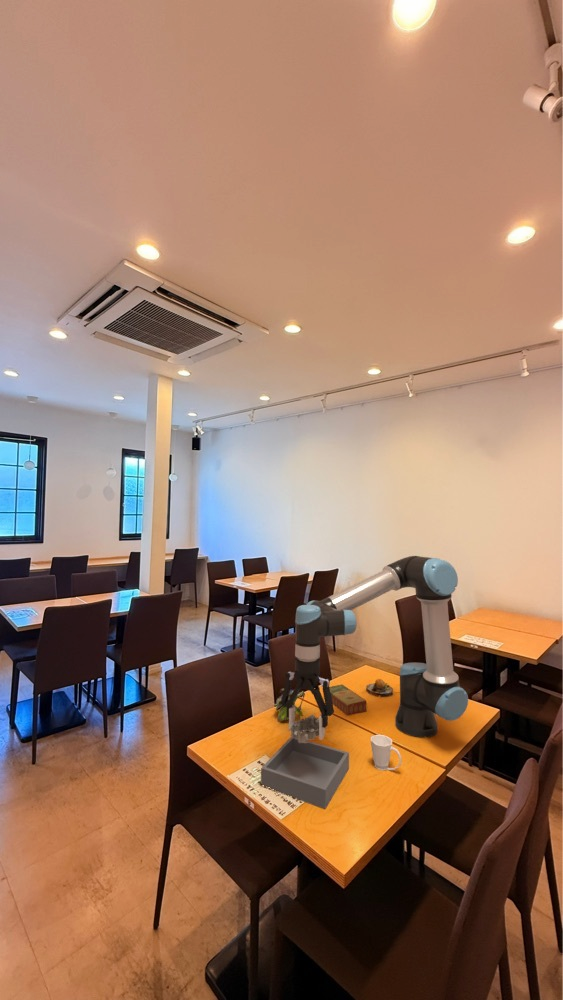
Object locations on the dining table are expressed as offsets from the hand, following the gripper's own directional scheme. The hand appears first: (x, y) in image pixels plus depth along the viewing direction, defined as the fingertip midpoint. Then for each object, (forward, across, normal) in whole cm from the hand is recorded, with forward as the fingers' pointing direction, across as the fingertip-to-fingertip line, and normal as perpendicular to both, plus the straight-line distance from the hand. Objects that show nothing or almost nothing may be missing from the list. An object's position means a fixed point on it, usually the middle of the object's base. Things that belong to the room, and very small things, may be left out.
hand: (306, 733), depth 123 cm
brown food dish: (+13, -4, -72) cm, 73 cm away
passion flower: (+13, +21, -32) cm, 40 cm away
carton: (+13, +6, -52) cm, 54 cm away
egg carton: (+1, 0, 0) cm, 1 cm away
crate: (+13, 0, 0) cm, 13 cm away
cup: (+13, -20, -16) cm, 29 cm away
